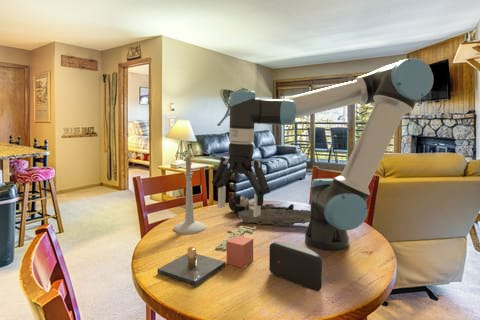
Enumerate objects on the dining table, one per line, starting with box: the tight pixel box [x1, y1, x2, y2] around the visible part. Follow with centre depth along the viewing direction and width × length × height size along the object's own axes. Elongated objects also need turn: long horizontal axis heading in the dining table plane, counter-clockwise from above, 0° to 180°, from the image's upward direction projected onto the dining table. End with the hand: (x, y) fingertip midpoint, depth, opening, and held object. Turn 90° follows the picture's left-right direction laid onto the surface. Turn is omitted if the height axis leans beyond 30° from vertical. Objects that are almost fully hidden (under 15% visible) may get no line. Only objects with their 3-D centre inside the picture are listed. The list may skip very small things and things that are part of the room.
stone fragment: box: [237, 209, 311, 227], centre depth 134 cm, size 31×9×5 cm
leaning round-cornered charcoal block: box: [268, 241, 323, 292], centre depth 87 cm, size 16×5×9 cm, turn 48°
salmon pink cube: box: [225, 235, 254, 269], centre depth 99 cm, size 6×6×7 cm
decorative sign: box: [215, 225, 257, 252], centre depth 120 cm, size 26×1×10 cm
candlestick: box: [173, 155, 207, 235], centre depth 129 cm, size 13×13×30 cm
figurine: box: [228, 194, 295, 214], centre depth 149 cm, size 20×9×30 cm
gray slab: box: [157, 246, 227, 288], centre depth 93 cm, size 14×14×6 cm
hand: (238, 211), depth 99 cm, fingers open, 13 cm apart
